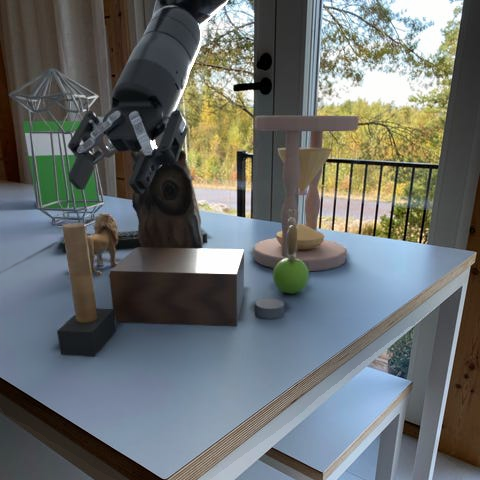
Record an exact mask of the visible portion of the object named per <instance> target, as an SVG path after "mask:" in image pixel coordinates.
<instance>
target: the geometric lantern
mask: <svg viewBox="0 0 480 480" xmlns="http://www.w3.org/2000/svg"><path fill="white" fill-rule="evenodd" d="M52 78H54V80H55V82H56V84H57V85H58V88H59V89H60V91H61V92H57V93H52V94H50V92H51V86H52V85H51V84H52ZM39 79H40V80H39ZM38 80H39V81H38ZM37 81H38V82H37ZM35 82H37V84H36V85H35V86H34V87H33V88H32V90H30V92H29V93H28V94H23V93H19V92H20V91H22V90H23V89H25V88H27V87H28V86H30V85H31V84H33V83H35ZM63 84H64V85H65V86H66V88H67V89H68V90H69V92H67V91H66V89H65V87H64V85H63ZM76 86H77V87H78V88H80V89H81V90H83V91H85V92H87V93H88V94H89V95H85V94H83V93H82V92H81V91H80V90H79V89H78V88H76ZM68 95H69V96H68ZM8 96H9V97H10V98H11V99H13V101H15V102H16V103H17V104H18V105H20V106H21V107H22V108H23V109H25V110H26V111H27V116H28V121H29V126H30V140H31V151H32V162H33V173H34V184H35V192H34V196H35V195H36V198H35V204H36V210H38V211H40V212H41V213H43V214H45V215H46V216H48V217H49V218H50V219H51V223H52V226H53V227H54V226H55V227H62V226H63V225H64V224H60V223H63V222H65V221H78V223H84V224H86V227H87V226H90V225H93V224H95V218H96V216H95V214H96V213H97V212H98V211H99V210H100V209H101V208H102V207H103V206H104V205H105V199H104V194H103V189H102V184H101V179H100V173H99V169H98V163H97V164H95V165H94V166H95V168H94V170H93V172H94V178H95V185H96V192H97V198H98V200H85V195H84V190H82V189H81V192H82V197H83V200H74V193H73V186H72V183H71V182H70V180H69V183H70V189H71V196H72V200H69V196H68V188H67V181H66V174H65V167H64V160H63V153H62V146H61V139H60V134H62V137H63V143H64V150H65V157H66V163H67V170H68V176H69V173H70V167H69V160H68V154H67V147H66V141H65V135H64V134H70V135H71V138H72V137H73V133H75V131H71V130H72V128H73V125H74V123H75V121H77V118H78V117H79V118H80V121H82V119H83V117H82V116H81V113H87V112H88V111H90V107H91V106H92V105H93V104H94V103H95V101H96V100H97V99H98V98H100V96H99V95H98V94H96V93H95V92H93V91H91V90H90V89H88V88H87V87H86V86H83V85H81V84H80V83H79V82H77V81H75V80H74V79H72V78H71V77H69V76H67V75H66V74H65V73H63V72H61V71H59V70H58V69H57V68H47V69H46V70H45V71H43V72H42V73H40V74H39V75H37V76H35V77H34V78H32V79H30V80H29V81H28V82H26V83H24V84H23V85H21V86H19V87H17V88H16V89H15V90H13V91H12V92H11V91H10V93H9V94H8ZM64 96H65V98H64ZM70 97H71V98H70ZM45 99H46V100H49V101H51V102H50V103H49V104H48V105H47V106H46V104H45V101H44V100H45ZM82 100H85V102H84V103H82ZM24 101H25V102H24ZM58 101H61V102H62V101H63V102H68V108H67V107H65V106H64V105H62V104H61V103H59V102H58ZM77 101H78V102H77ZM72 102H73V104H74V107H75V108H76V109H77V110H74V109H71V108H72V105H71V104H72ZM29 103H30V104H31V106H30V105H29ZM40 104H42V107H43V108H40ZM53 105H56V106H58V107H59V108H61V109H63V110H64V111H66V113H65V115H64V116H63V119H62V120H61V121H62V123H61V125H60V124H59V123H58V122H57V121H58V120H57V119H56V118H55V117H54V115H53V114H52V112H51V111H50V110H49V109H50V108H51V107H53ZM39 108H40V109H39ZM41 112H47V114H48V115H49V116H50V117H51V119H52V121H55V123H56V124H57V125H58V127H59V130H58V131H52V130H51V128H50V127H49V126H48V124H47V123H46V122H45V121H46V120H45V119H44V118H43V116H42V115H41ZM31 113H32V114H33V116H32V114H31ZM69 113H72V114H73V113H74V114H76V115H75V117H74V119H73V121H74V122H73V124H72V126H71V129H70V131H64V130H63V129H62V126H63V124H64V122H65V121H67V118H68V115H69ZM36 114H38V116H39V117H40V119H41V121H44V122H45V124H46V125H47V126H48V128H49V129H50V131H39V132H32V128H33V123H34V121H35V117H36ZM31 121H32V124H31ZM72 132H73V133H72ZM32 133H50V139H51V148H52V158H53V168H54V178H55V188H56V199H57V201H55V202H52V203H49V204H46V205H42V202H41V195H40V188H39V180H38V173H37V166H36V159H35V151H34V144H33V135H32ZM52 133H54V134H58V140H59V147H60V154H61V161H62V168H63V175H64V182H65V189H66V196H67V200H59V197H58V186H57V176H56V166H55V156H54V146H53V136H52ZM91 153H92V154H94V153H95V149H94V148H93V149H92V150H91ZM74 156H75V155H74ZM76 159H77V157H76V156H75V161H76ZM37 190H38V191H37ZM38 198H39V202H38ZM62 202H67V208H62V206H61V205H60V203H62ZM69 202H73V207H72V208H69ZM75 202H84V207H79V208H77V207H76V206H75ZM86 202H98V203H97V204H95V205H92V206H88V207H87V205H86ZM56 203H58V204H59V206H60V207H61V208H44V207H47V206H50V205H53V204H56ZM39 205H40V206H39ZM91 209H92V210H91ZM87 210H91V211H87ZM48 211H51V212H53V211H54V212H60V213H58V214H56V215H52V214H51V213H49V212H48ZM70 214H76V216H77V217H71V216H70ZM80 214H82V216H81V217H80ZM61 215H62V216H61ZM66 215H67V217H66ZM87 217H90V219H89V218H87ZM56 219H61V220H58V221H56ZM81 221H82V222H81ZM86 222H88V223H86Z"/></svg>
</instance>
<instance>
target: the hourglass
mask: <svg viewBox="0 0 480 480" xmlns="http://www.w3.org/2000/svg"><path fill="white" fill-rule="evenodd" d="M359 120H360V119H359V116H357V115H256V116H255V117H254V130H256V131H263V132H264V131H265V132H285V147H280V148H279V147H278V148H277V152H278V156H279V158H280V160H281V161H282V163H283V167H282V184H283V188H284V193H285V196H284V197H285V198H284V202H283V204H282V207H281V212H280V223H281V231H278V232H276V234H275V235H276V237H274V238H268V239H267V238H266V239H264V240H261V241H258V242H257V243H256V244H254V246H253V247H252V258H253V259H254V262H256V263H258V264H260V265H261V266H263V267H266V268H271V269H274V268H275V266H276V265H277V264H278V263H279V262H280V261H281V260H283V259H285V258H288V256H287V248H286V236H287V231H288V219H289V213H288V210H289V209H290V210H291V211H293V210H296V212H295V213H293V212H291V213H290V218H291V217H293V218H294V219H295V220H296V224H295V226H296V227H297V254H296V258H297V259H299V260H301V261H302V262H304V263H305V265H306V266H307V268H308V271H309V272H320V271H321V272H322V271H327V270H332V269H336V268H339V267H340V266H342V265H344V264H345V262H346V258H347V250H348V249H347V248H346V247H345V246H344V245H342V244H341V243H339V242H336V241H333V240H329V239H325V234H324V233H323V232H320V231H318V218H319V213H320V209H321V197H320V193H319V188H318V186H319V183H320V180H321V178H322V173H323V166H324V165H325V164H326V162H327V160H328V159H329V158H330V156H331V153H332V151H333V150H332V149H333V148H329V147H328V148H326V147H323V138H324V132H353V131H354V132H355V131H357V130H358V129H359ZM301 132H310V134H309V135H310V136H309V147H301ZM307 188H308V190H307ZM296 194H297V195H298V196H305V200H304V216H305V217H304V218H305V223H304V224H303V223H299V208H298V203H297V198H296ZM298 223H299V224H298Z"/></svg>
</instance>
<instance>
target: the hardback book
mask: <svg viewBox="0 0 480 480" xmlns="http://www.w3.org/2000/svg"><path fill="white" fill-rule="evenodd" d="M32 121H33V120H31V124H32ZM62 121H63V120H57V122H58V123H59V124H60V125H61V123H62ZM81 121H82V120H80V121H79V120H76V121H75V123H74V125H73V128H72V130H71V131H76V130H77V128H78V126H79V124H80V123H81ZM45 122H46V123H47V124H48V126H49V127H50V128H51V130H52V131H58V130H59V127H58V125H57V124H56V123H55V121H54V120H52V121H51V120H45ZM45 122H44V121H43V120H34V123H33V128H32V132H39V131H50V129H49V128H48V126H47V125H46V124H45ZM73 122H74V120H65V122H64V124H63V126H62V129H63V130H64V131H70V129H71V126H72V124H73ZM22 125H23V131H24V135H25V136H24V137H25V143H26V148H27V155H28V160H29V167H30V174H31V178H32V186H33V190H34V191H33V192H34V193H35V184H34V173H33V162H32V151H31V140H30V126H29V120H26V121H25V120H23V121H22ZM72 133H73V132H72ZM32 135H33V144H34V151H35V159H36V166H37V173H38V180H39V188H40V195H41V202H42V205H46V204H49V203H52V202H55V201H57V199H56V188H55V178H54V168H53V158H52V148H51V139H50V133H32ZM64 135H65V141H66V147H67V154H68V160H69V167H70V171H71V169H72V167H73V165H74V163H75V156H74V154H73V152H72V151H71V150H70V149H69V148H68V144H69V142H70V140H71V135H70V134H64ZM73 135H74V133H73ZM52 136H53V146H54V156H55V166H56V176H57V186H58V197H59V200H67V196H66V189H65V182H64V175H63V168H62V161H61V154H60V147H59V140H58V134H54V133H52ZM60 139H61V146H62V153H63V160H64V167H65V174H66V181H67V188H68V196H69V200H72V196H71V189H70V183H69V176H68V170H67V163H66V157H65V150H64V143H63V137H62V134H60ZM82 144H83V141H81V143H80V145H82ZM72 186H73V193H74V200H83V197H82V192H81V189H77V188H76V187H75V186H74V185H73V184H72ZM83 190H84V195H85V200H98V198H97V192H96V185H95V178H94V172H92V174H91V176H90V179H89V181H88V183H87V185H86V187H85V189H83ZM37 191H38V190H37ZM34 198H35V199H36V195H35V194H34ZM38 202H39V198H38ZM97 203H98V202H86V205H87V207H89V206H92V205H95V204H97ZM60 205H61V206H62V208H63V209H67V202H62V203H60ZM39 206H40V205H39ZM75 206H76V208H85V207H84V202H75ZM44 208H57V209H61V207H60V206H59V204H58V203H56V204H53V205H50V206H47V207H44ZM71 208H73V202H69V209H71Z"/></svg>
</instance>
